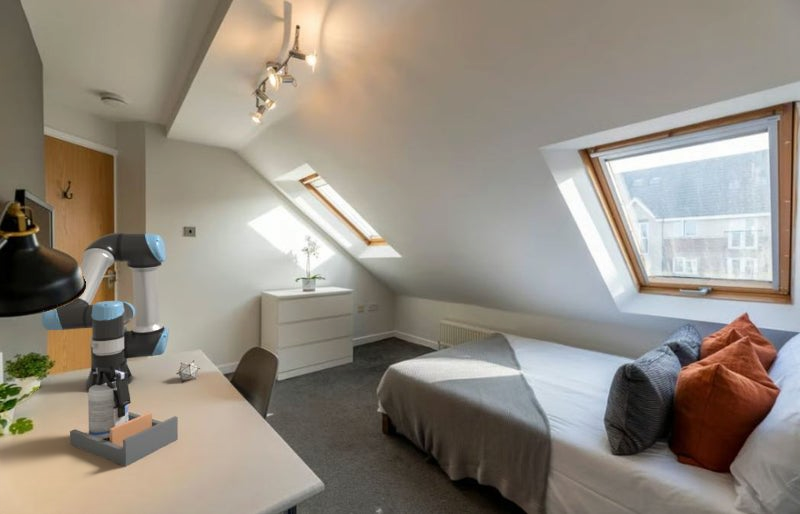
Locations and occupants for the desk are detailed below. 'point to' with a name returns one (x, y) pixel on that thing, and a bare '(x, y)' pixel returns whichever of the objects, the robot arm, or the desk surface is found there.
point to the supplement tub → (102, 410)
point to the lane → (129, 441)
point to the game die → (188, 371)
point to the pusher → (130, 428)
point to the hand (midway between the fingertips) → (109, 423)
